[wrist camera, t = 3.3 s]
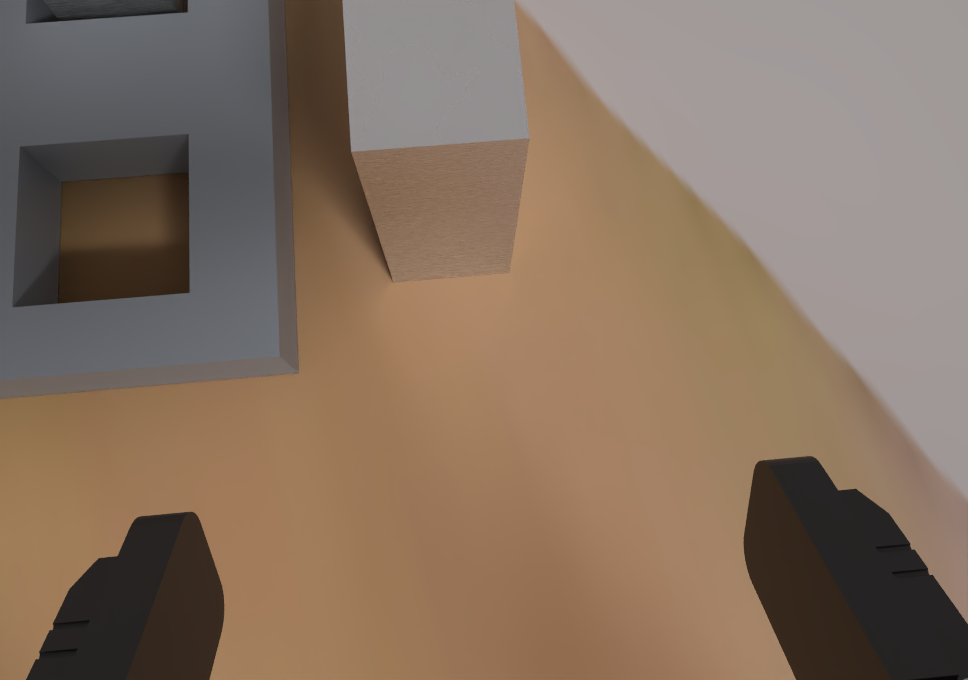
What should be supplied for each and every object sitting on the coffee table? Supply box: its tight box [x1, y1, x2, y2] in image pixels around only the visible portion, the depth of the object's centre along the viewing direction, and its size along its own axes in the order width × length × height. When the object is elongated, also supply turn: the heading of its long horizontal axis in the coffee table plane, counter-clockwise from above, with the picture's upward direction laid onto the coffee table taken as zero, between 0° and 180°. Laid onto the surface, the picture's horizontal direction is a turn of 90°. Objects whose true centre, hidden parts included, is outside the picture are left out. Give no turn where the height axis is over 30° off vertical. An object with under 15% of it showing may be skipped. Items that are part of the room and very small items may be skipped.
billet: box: [342, 0, 529, 282], centre depth 26 cm, size 4×4×11 cm
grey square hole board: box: [0, 0, 299, 399], centre depth 31 cm, size 22×12×3 cm, turn 5°
